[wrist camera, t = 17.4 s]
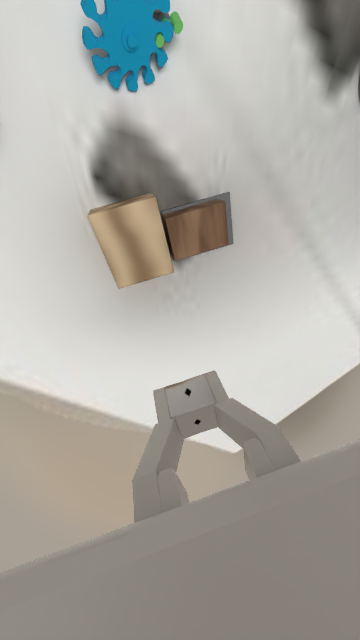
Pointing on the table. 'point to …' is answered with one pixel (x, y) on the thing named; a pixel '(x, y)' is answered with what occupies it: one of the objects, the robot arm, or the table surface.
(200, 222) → the walnut slab
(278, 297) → the table surface
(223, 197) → the felt pad
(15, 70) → the table surface
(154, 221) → the oak step
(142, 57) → the blue lobed piece
